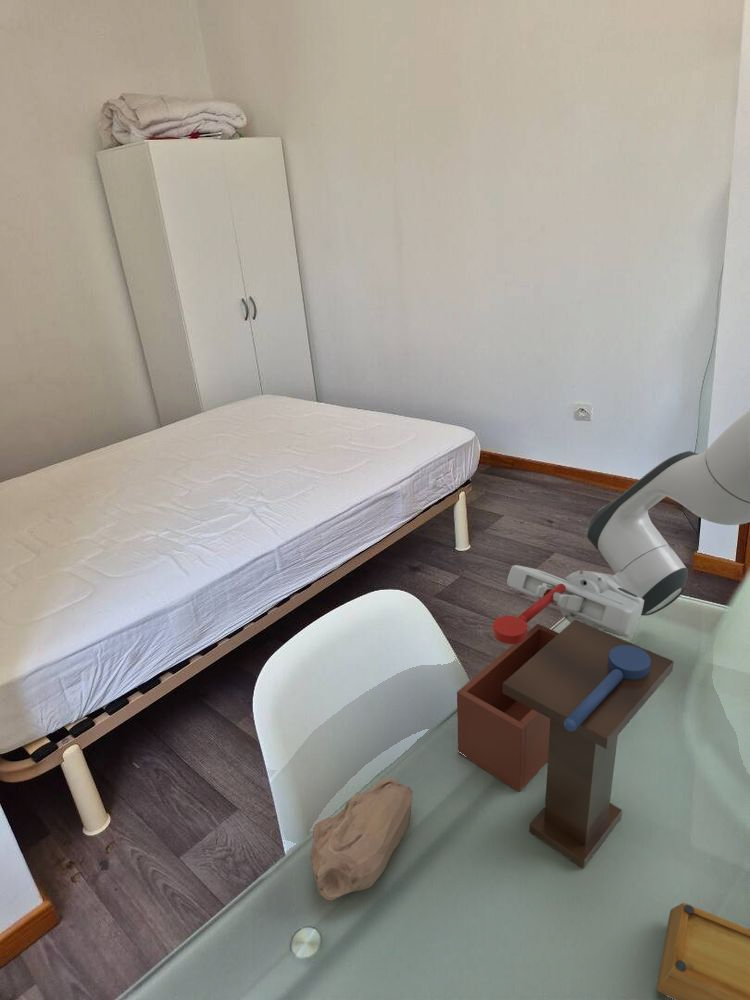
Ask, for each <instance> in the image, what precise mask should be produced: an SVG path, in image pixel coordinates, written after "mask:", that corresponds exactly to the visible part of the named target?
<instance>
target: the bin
mask: <svg viewBox="0 0 750 1000" xmlns="http://www.w3.org/2000/svg"><path fill="white" fill-rule="evenodd" d="M559 633H560V632H557V631H555V630H553V629H551V628H549V627H546V626H544V625H541V624H540V623H536V624H535V625H534V626H533V627H532V628H531V629H529V630H527V637H526V639H525V640H524V641H522V642H520V643H517V644H511V645H510V646H509V647H508V648H507V649H506V650H505V651H503V652H502V653H501V654H500V655H499V656H498V657H496V658H495V659H494V660H493V661H492V662H490V663H489V664H488V665H486V667H484V668H483V669H482V670H481V671H480V672H478V673H477V674H475V676H474V677H473V678H471V679H470V680H469V681H468V682H467V683H465V684H464V685H463V686H462V687H461V688H459V690H457V692H456V705H457V706H456V710H457V711H456V713H457V716H456V717H457V754H459V755H461V757H464V758H465V759H467V760H469V761H470V762H472V763H473V764H474V765H476V766H477V767H478V768H481V769H482V770H484V771H485V772H487V773H488V774H490V775H491V776H493V777H495V778H496V779H498V780H499V781H501V782H502V783H504V784H506V785H507V786H509V787H510V788H512V789H513V790H515V791H516V792H518V793H521V791H522V790H523V789H524V788H525V787H526V786H527V785H528V784H529V783H530V782H531V780H533V778H534V777H535V776H536V775H537V774H538V773H539V772H540V770H542V768H543V767H544V766H545V765H547V764H548V748H549V732H550V718H548V717H546V716H544V715H542V714H540V713H539V712H537V711H535V710H533V709H531V708H529V707H528V706H526V705H524V704H522V703H520V702H518V701H516V700H515V699H513V698H511V697H509V696H507V695H505V694H504V693H503V683H504V682H505V681H506V680H507V679H508V678H510V677H511V676H512V675H513V674H514V673H515V672H516V671H517V670H519V669H520V668H521V667H522V666H523V665H524V664H525V663H526V662H528V661H529V660H530V659H531V658H532V657H533V656H534V655H535V654H537V653H538V652H539V651H540V650H541V649H542V648H543V647H544V646H546V645H547V644H548V643H549V642H550V641H551V640H552V639H553V638H554V637H556V636H557V635H558V634H559ZM458 751H459V752H461V753H462V754H464V755H465V756H466V757H465V756H464V755H462V754H461V753H459V752H458Z"/></svg>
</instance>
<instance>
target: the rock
mask: <svg viewBox="0 0 750 1000" xmlns="http://www.w3.org/2000/svg"><path fill="white" fill-rule="evenodd" d="M412 805H413V790H412V789H411V786H407V785H405V784H403V783H400V782H399V781H398V780H396V779H395V778H393V777H385V778H383V779H380V780H379V781H378V782H377V783H375V785H374V786H373V787H371V788H370V789H368V790H366V791H363V792H359V793H357V794H355V795H352V796H351V797H350V798H349V799H348V800H347V802H346V804H345V807H344V809H342V810H341V811H340V812H337V814H335V815H334V816H332V817H329V818H325V819H321V820H320V821H318V822H317V823H315V824H314V825H313V827H312V844H311V849H310V854H309V859H310V861H311V866H312V871H313V878H314V880H315V882H316V886H317V891H318V893H319V894H320V896H321V897H323V898H324V899H325V900H327V901H334V900H336V899H338V898H341V897H343V896H345V895H347V894H350V893H353V892H359V891H363V890H367V889H369V888H371V887H372V886H373V885H374V884H375V883H376V882H377V880H378V879H379V878H380V876H381V875H382V874H383V872H384V871H385V870H386V868H387V865H388V863H389V861H390V859H391V857H392V854H393V853H394V851H396V848H398V846H399V844H400V842H401V840H402V838H403V837H404V835H405V833H406V831H407V828H408V826H409V823H410V818H411V812H412Z"/></svg>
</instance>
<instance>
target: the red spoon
mask: <svg viewBox="0 0 750 1000" xmlns="http://www.w3.org/2000/svg"><path fill="white" fill-rule="evenodd" d="M565 590H566V587H565V585H564V584H558V585H557V586H555V587H554V588H553V589H552V590H550V591H549V592H548V593H547V594H545V595H544V596H543V597H542V598H540V599H537V601H535V602H534V603H533V604H532V605H530V606H529V607H528V608H527V609H525V610H524V611H523V612H522V613H520V614H519V615H518V616H515V615H503V616H499V617H497V618H496V619H495V620H494V621H493V624H492V635H493V638H494V639H495V640H496V641H498V642H500V643H502V644H506V645H513V644H517V643H520V642H522V641H524V640H525V639H526V637H527V632H528V623H529V622H530V621H531V620H532V619H533V618H535V617H536V616H537V615H538V614H539V613H541V612H542V611H543V610H544V609H546V608H547V607H548V606H550V605H551V604H550V603H551V602H552V599H553V595H554V593H555V592H560V593H564V592H565Z"/></svg>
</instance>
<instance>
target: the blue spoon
mask: <svg viewBox="0 0 750 1000" xmlns="http://www.w3.org/2000/svg"><path fill="white" fill-rule="evenodd" d="M650 664H651V659H650V657H649V655H648V654H647V653H646V652H645V651H643V650H642V649H640V648H638V647H634V646H630V645H621V646H616V647H614V648H613V649H611V651H610V652H609V658H608V667H609V669H610V670H611V672H610V673H609V674H608V675H607V676H606V678H605V679H604V680H603V681H602V682H601V683H600V684H599V685H598V686H597V687H596V688H595V689H594V690H593V691H592V692H591V693H590V694H589V695H588V696H587V697H586V698H585V700H584V701H583V702H582V703H581V704H580V705H579V706H578V707H577V708H576V709H575V710H574V711H573V712H572V713H571V714H570V715H569V716H568V717H567V718H566V719H565V721H564V727H565V729H566V730H568V731H575V730H576V729H577V728H578V727H579V726H580V725H581V723H582V722H583V721H584V720H585V719H586V718H587V717H588V716H589V715H590V714H591V713H592V712H593V710H594V709H595V708H596V707H597V706H598V705H599V704H600V703H601V702H602V701H603V700H604V699H605V697H606V696H607V695H608V694H609V693H610V692H611V691H612V690H613V689H614V688H615V687H616V686H617V684H618V683H619V682H620V681H621V680H622V679H623V678H624V679H628V680H638V679H642V678H644V677H646V676H647V675H648V674H649V671H650Z"/></svg>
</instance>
